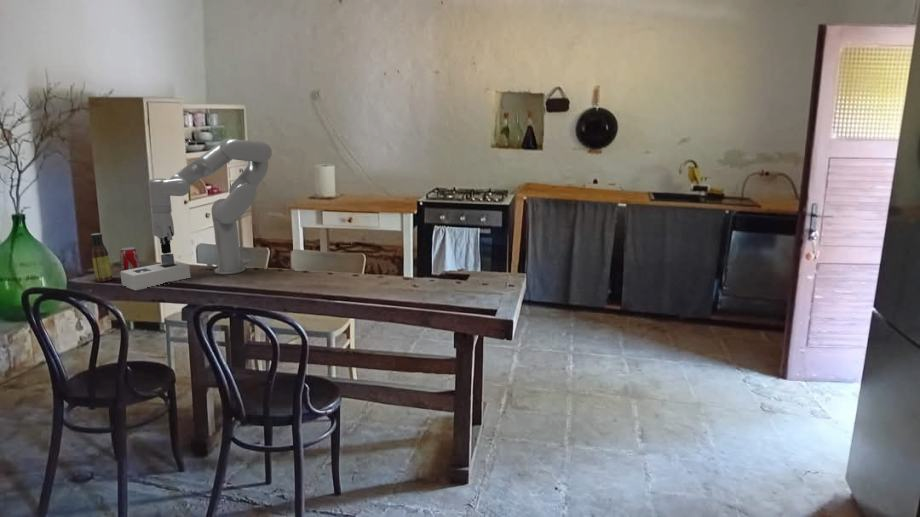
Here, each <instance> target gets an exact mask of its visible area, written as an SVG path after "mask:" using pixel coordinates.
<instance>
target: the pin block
mask: <svg viewBox="0 0 920 517" xmlns="http://www.w3.org/2000/svg"><path fill="white" fill-rule="evenodd" d="M174 264H175V266H171V267H166V268H164V267H162V262H161V263H158V264H157V263H155V264H152V265H146V266H140V268H135V269H130V270H124V271H122V270H121V271H120V279H121V286H122V285H123V286H122V287H124V286H126V287H125V288H127V289H130V290H133V291H134V292H135V291H140V290H144V289H148V288H147V287H150V288H152V287H151V286H154V287H157V286H156V285H159V286H161V285H160V284H163V283H165V282H168V281H173V280H179V279H186V278H192V277H191V269H190V264H188V263H184V262H181V261H178V260H174ZM141 269H148V271H146V272H141V273H136V272H135V271H136V270H141Z"/></svg>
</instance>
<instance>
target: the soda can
mask: <svg viewBox="0 0 920 517" xmlns="http://www.w3.org/2000/svg"><path fill="white" fill-rule="evenodd" d="M119 260H120V266H121V271H124V270H130V269H135V268H140V267H141V265H140V258H139V251H138V250H137V248H136V247H135V246H126V247H121V248H120V252H119Z"/></svg>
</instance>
